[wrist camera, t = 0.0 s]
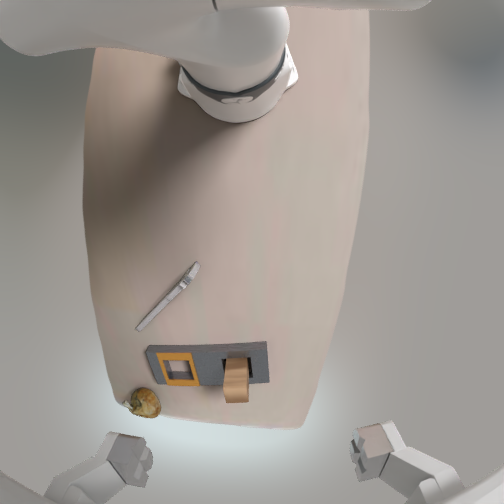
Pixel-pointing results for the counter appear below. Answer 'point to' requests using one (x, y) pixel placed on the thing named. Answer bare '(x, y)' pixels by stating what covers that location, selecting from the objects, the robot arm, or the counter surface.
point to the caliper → (170, 295)
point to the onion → (144, 403)
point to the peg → (236, 380)
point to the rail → (206, 362)
